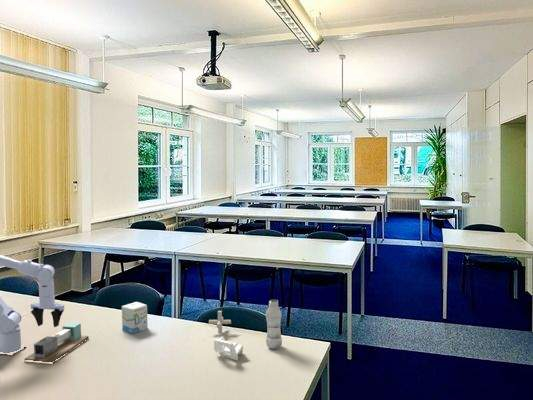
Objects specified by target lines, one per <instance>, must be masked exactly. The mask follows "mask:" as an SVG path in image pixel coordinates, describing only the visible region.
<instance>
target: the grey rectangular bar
mask: <svg viewBox="0 0 533 400" xmlns="http://www.w3.org/2000/svg"><path fill="white" fill-rule="evenodd" d="M72 335H73V328H65V329H64V330H63V329H62V330H60V331H59V332H57V333H54V335H51V337H57V345H58V344H59V343H61V342H62V341H64V340H66V339H67V338H69V337H70V336H72Z"/></svg>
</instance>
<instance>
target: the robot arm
mask: <svg viewBox="0 0 533 400" xmlns="http://www.w3.org/2000/svg"><path fill="white" fill-rule="evenodd" d="M1 266H2V267H6V268H9V269H13V270H17V272H18V273H19V274H20V275H21V274H22V275H25V276H28V277H31V278H35V279H37V280H38V298H39V299H38V300H39V302H33V303H31V304H30V309H31V311H30V314H32V315H33V317H34V318H35V323H36V324H37V326H38V327H40V326H42V325H43V324H44V311H45V310H52V311H51V312H50V314H51V316H52V321H53V323H52V324H53V327H54V328H56V327H59V325H60V320H61V317H62V315H63V313H64V311H65V304H61V303H57V302H56V299H55V298H56V297H55V296H56V295H55V282H54V275H55V273H56V272H55V268H54V266H52V265H50V264H43V263H38V262H33V261H32V259H27V260H22V261H20V260H16V259H14V258H12V257H8V256H5V255H2V254H0V267H1ZM21 321H22V315H21V313H20V312H18V311H16V310H15V309H13V307H11V306H9V305H7V304H6V302H5V301H4V300H3V298H2V297H1V296H0V352H3V353H10V352H14V351H17V350H19V349H21V346H22V336H21V335H22V334H21V326H20V323H21Z"/></svg>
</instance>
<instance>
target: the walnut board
mask: <svg viewBox="0 0 533 400" xmlns="http://www.w3.org/2000/svg"><path fill="white" fill-rule="evenodd" d="M87 339H88V340H89V335H81V337H79V338H78V339H76V340H64V341H62V342H61V343H59V344H58V351H56V352H55V353H53V354H52V355H50V356H49V357H47V358H46V359H41V358H35V355H34V352H32V353H31V354H29V355H28V356H26V357H24V361H25V360H33V361H42V362H53V361H55V360H56V359H58V358H60V357H61V356H63V355H64V354H66V353H68V352H69V351H70V350H72V349H73V348H75V347H76V346H78V345H79V344H81V343H82V342H84V341H85V340H87ZM88 340H87V341H88ZM85 342H86V341H85ZM85 342H84V343H85ZM82 344H83V343H82ZM82 344H81V345H82ZM78 347H79V346H78ZM75 349H76V348H75ZM72 351H73V350H72ZM69 353H70V352H69ZM69 353H68V354H69ZM66 355H67V354H66ZM63 357H64V356H63Z"/></svg>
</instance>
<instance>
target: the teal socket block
mask: <svg viewBox="0 0 533 400" xmlns="http://www.w3.org/2000/svg"><path fill="white" fill-rule="evenodd" d="M81 325H82V324H81V323H78V322H77V323H76V322H68V323H66V324H64V325H63V326H62V330H64V329H65V328H73V335H72V336H70V337H69V338H67V339H66V340H76V339H78V338H79V337H81V336H82V326H81Z"/></svg>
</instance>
